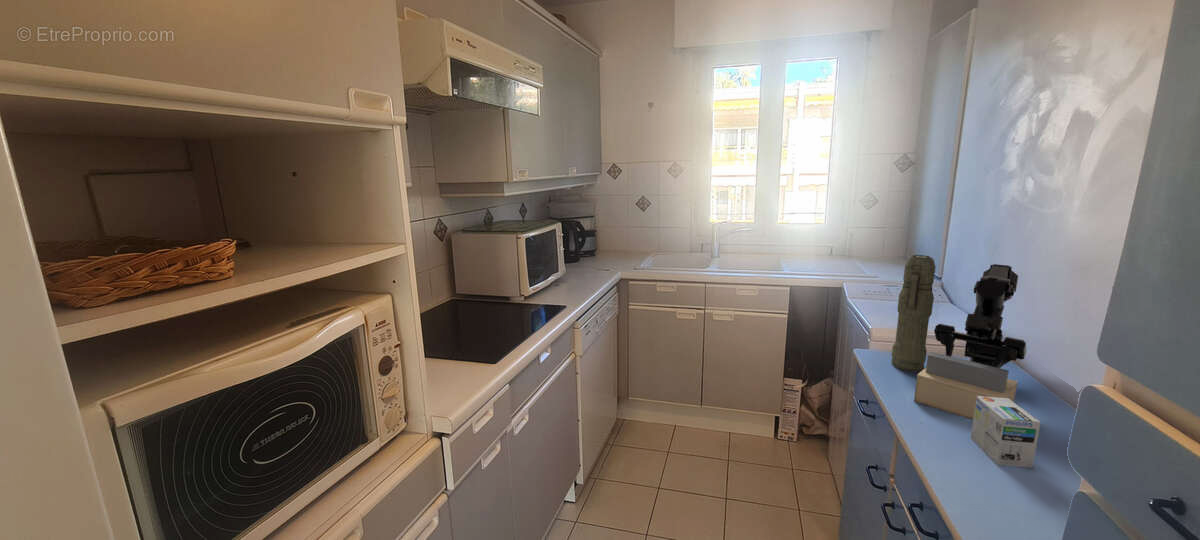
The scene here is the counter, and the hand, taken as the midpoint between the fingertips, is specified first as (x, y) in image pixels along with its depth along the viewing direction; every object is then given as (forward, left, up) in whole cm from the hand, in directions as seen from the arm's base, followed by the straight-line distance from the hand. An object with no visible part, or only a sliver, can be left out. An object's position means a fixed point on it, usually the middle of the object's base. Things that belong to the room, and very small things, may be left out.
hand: (968, 368), depth 121 cm
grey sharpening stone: (+4, 0, -3) cm, 5 cm away
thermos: (-16, -18, -10) cm, 26 cm away
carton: (+1, 0, -10) cm, 10 cm away
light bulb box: (+20, +11, -10) cm, 25 cm away
